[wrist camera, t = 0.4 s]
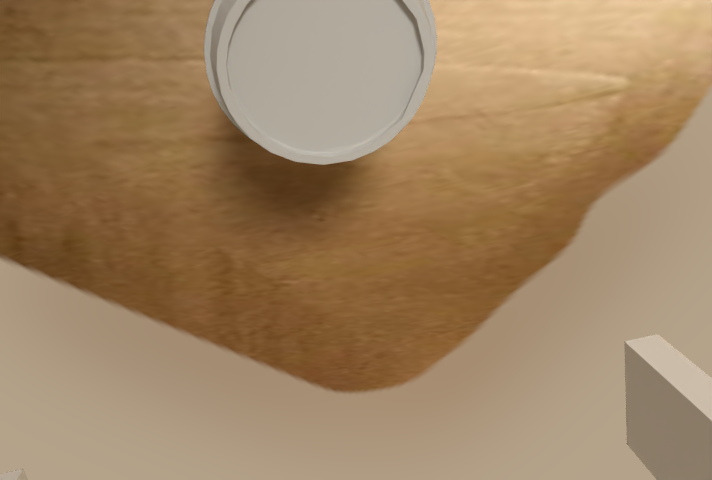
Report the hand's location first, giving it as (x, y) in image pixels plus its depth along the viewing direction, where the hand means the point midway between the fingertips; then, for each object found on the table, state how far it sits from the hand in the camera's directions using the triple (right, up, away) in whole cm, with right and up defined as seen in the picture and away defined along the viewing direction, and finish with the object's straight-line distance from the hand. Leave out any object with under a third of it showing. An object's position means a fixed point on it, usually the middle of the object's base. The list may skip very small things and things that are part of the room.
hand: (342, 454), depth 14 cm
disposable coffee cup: (-3, +19, +21) cm, 28 cm away
